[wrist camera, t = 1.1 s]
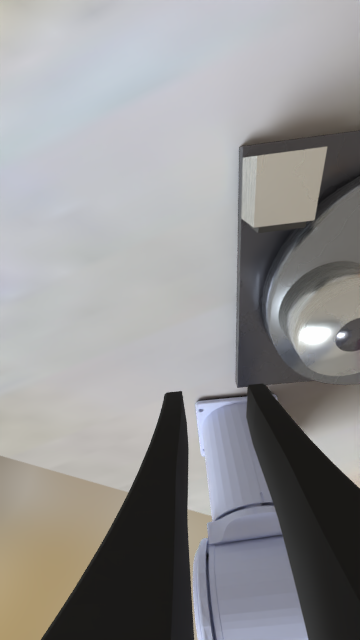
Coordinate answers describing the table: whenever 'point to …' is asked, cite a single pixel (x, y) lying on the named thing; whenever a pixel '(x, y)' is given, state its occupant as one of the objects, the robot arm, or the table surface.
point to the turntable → (313, 266)
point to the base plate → (279, 231)
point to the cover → (325, 318)
